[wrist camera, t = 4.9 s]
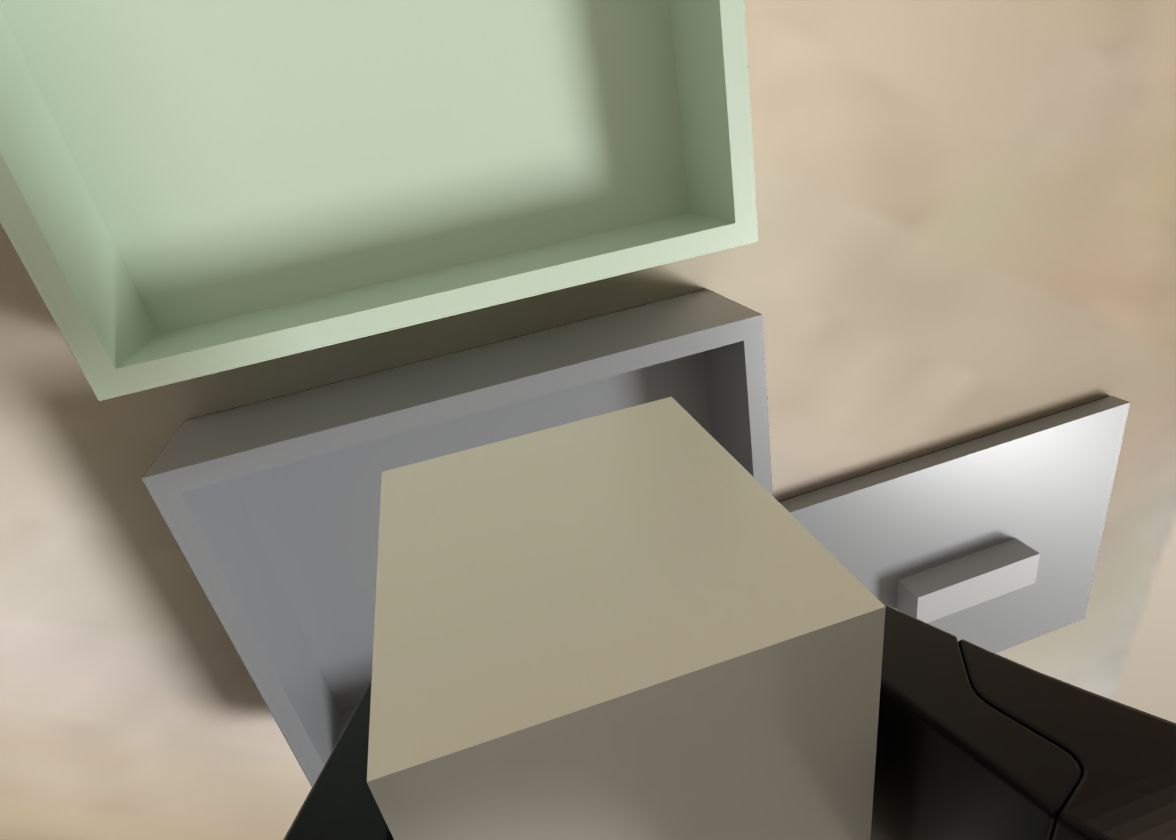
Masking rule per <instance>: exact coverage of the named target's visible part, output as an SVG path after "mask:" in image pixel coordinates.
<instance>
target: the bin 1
mask: <svg viewBox="0 0 1176 840" xmlns="http://www.w3.org/2000/svg"><path fill="white" fill-rule="evenodd" d="M0 223H1V225H2V227H3V229H4V231H5V232H6V234H7V236H8V238H9V240H10V241H11V243H12V245H13V247H14V249H15V251H16V252H17V254H18V256H19V258H20V260H21V261H22V263H23V265H24V267H25V269H26V270H27V272H28V274H29V276H30V278H31V279H32V281H33V283H34V285H35V287H36V289H37V290H38V292H39V294H40V296H41V298H42V299H43V301H44V303H45V305H46V307H47V308H48V310H49V312H50V314H51V316H52V317H53V319H54V321H55V323H56V325H57V327H58V328H59V330H60V332H61V334H62V336H63V337H64V339H65V341H66V343H67V345H68V346H69V348H70V350H71V352H72V354H73V356H74V357H75V359H76V361H77V363H78V365H79V366H80V368H81V370H82V372H83V374H84V375H85V377H86V379H87V381H88V383H89V384H90V386H91V388H92V390H93V392H94V394H95V395H96V397H97V399H98V401H103V400H107V399H111V398H115V397H119V396H123V395H127V394H131V393H136V392H140V391H144V390H148V389H152V388H156V387H160V386H164V385H169V384H173V383H177V382H181V381H185V380H189V379H193V378H197V377H202V376H206V375H210V374H214V373H218V372H222V371H226V370H230V369H235V368H239V367H243V366H247V365H251V364H255V363H259V362H263V361H268V360H272V359H276V358H280V357H284V356H288V355H292V354H296V353H301V352H305V351H309V350H313V349H317V348H321V347H325V346H329V345H334V344H338V343H342V342H346V341H350V340H354V339H358V338H362V337H367V336H371V335H375V334H379V333H383V332H387V331H391V330H395V329H400V328H404V327H408V326H412V325H416V324H420V323H424V322H428V321H433V320H437V319H441V318H445V317H449V316H453V315H457V314H461V313H466V312H470V311H474V310H478V309H482V308H486V307H490V306H494V305H498V304H503V303H507V302H511V301H515V300H519V299H523V298H527V297H531V296H536V295H540V294H544V293H548V292H552V291H556V290H560V289H564V288H569V287H573V286H577V285H581V284H585V283H589V282H593V281H597V280H602V279H606V278H610V277H614V276H618V275H622V274H626V273H630V272H635V271H639V270H643V269H647V268H651V267H655V266H659V265H663V264H668V263H672V262H676V261H680V260H684V259H688V258H692V257H696V256H701V255H705V254H709V253H713V252H717V251H721V250H725V249H729V248H734V247H738V246H742V245H746V244H750V243H754V242H758V231H757V213H756V196H755V178H754V161H753V144H752V126H751V109H750V92H749V74H748V57H747V40H746V22H745V5H744V0H0Z"/></svg>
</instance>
